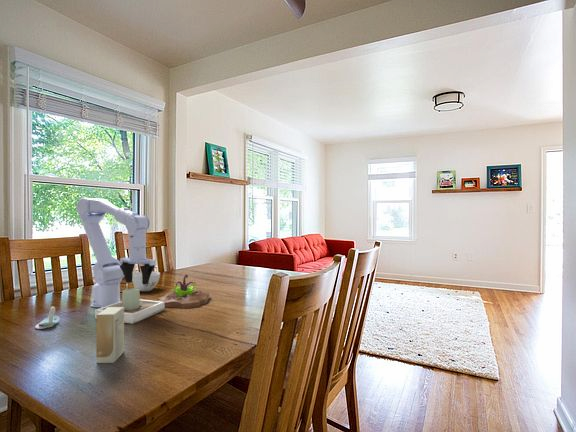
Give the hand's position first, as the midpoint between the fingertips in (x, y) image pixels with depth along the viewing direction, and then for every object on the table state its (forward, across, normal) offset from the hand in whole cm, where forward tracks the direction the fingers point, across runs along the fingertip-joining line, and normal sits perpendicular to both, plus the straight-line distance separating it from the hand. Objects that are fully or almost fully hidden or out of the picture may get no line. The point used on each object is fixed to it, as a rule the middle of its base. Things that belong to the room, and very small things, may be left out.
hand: (137, 283), depth 121 cm
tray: (+10, +2, -4) cm, 11 cm away
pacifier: (+10, -15, -23) cm, 29 cm away
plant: (+11, +9, +17) cm, 22 cm away
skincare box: (+10, +23, -34) cm, 42 cm away
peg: (+9, +1, -5) cm, 10 cm away
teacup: (+10, -20, +27) cm, 35 cm away
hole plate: (+10, +2, -4) cm, 11 cm away
